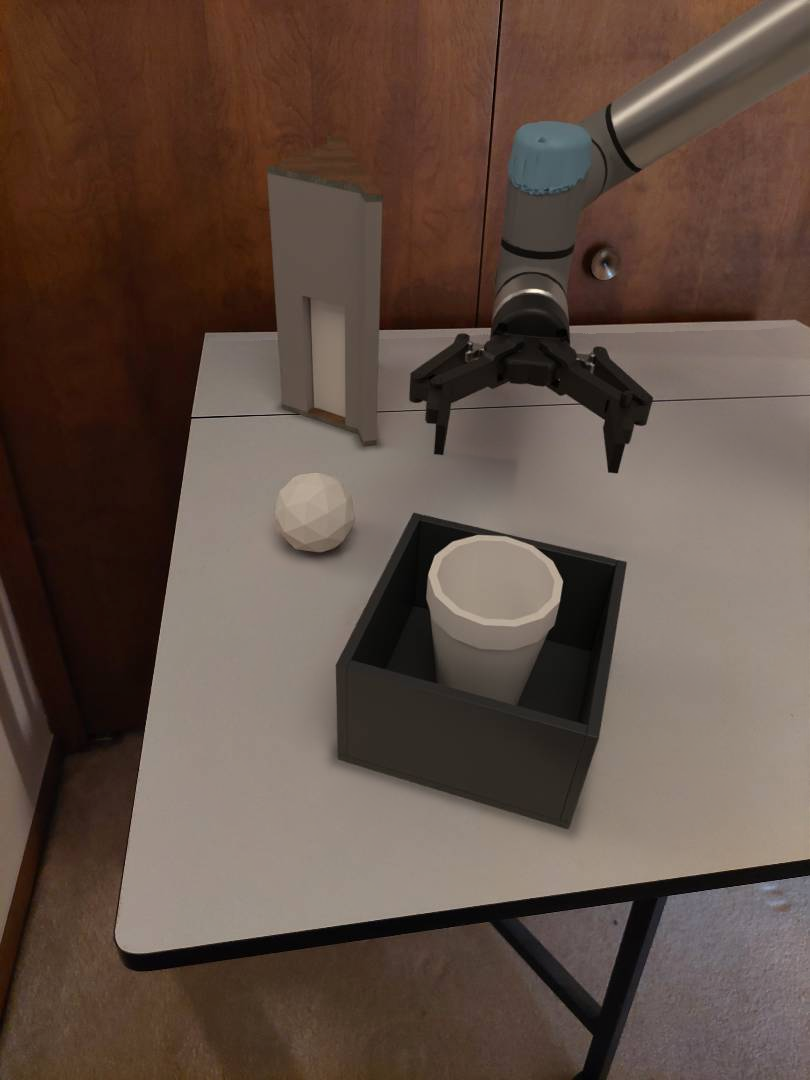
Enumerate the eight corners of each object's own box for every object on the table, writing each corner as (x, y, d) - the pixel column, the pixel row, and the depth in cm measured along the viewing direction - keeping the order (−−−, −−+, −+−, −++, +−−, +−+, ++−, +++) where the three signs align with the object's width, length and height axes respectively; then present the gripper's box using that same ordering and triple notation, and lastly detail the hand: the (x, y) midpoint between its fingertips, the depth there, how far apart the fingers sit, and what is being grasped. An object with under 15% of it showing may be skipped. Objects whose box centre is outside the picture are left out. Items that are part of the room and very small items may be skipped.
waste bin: (599, 653, 70) (627, 561, 63) (568, 829, 57) (599, 738, 50) (407, 604, 73) (413, 512, 66) (337, 759, 60) (335, 665, 53)
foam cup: (450, 760, 60) (466, 642, 51) (400, 671, 66) (407, 553, 58) (557, 720, 63) (589, 603, 55) (500, 639, 69) (520, 523, 61)
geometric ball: (331, 552, 83) (377, 494, 80) (312, 581, 75) (362, 518, 72) (272, 507, 82) (316, 447, 79) (247, 531, 74) (295, 466, 72)
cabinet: (376, 444, 93) (382, 194, 75) (293, 453, 91) (279, 198, 73) (342, 360, 108) (341, 135, 90) (271, 365, 106) (255, 137, 88)
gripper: (650, 376, 79) (679, 505, 63) (401, 352, 81) (367, 472, 65) (669, 304, 74) (705, 424, 58) (404, 280, 76) (367, 390, 60)
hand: (527, 449), depth 62 cm, fingers open, 13 cm apart
